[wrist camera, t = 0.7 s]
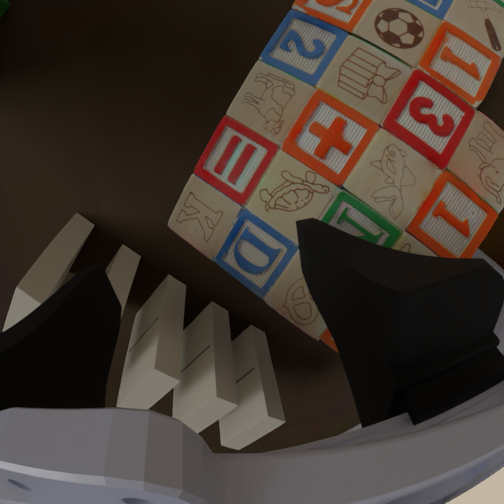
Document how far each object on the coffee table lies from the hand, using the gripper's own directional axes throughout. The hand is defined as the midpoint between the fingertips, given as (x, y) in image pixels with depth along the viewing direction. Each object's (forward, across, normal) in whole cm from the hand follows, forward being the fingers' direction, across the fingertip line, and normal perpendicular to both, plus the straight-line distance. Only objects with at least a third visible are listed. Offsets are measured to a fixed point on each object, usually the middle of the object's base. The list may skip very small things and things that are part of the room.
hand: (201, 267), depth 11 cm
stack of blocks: (+8, -6, -7) cm, 12 cm away
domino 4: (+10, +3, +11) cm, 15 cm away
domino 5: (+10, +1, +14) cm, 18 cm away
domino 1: (+10, +11, +2) cm, 15 cm away
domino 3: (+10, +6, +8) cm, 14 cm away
